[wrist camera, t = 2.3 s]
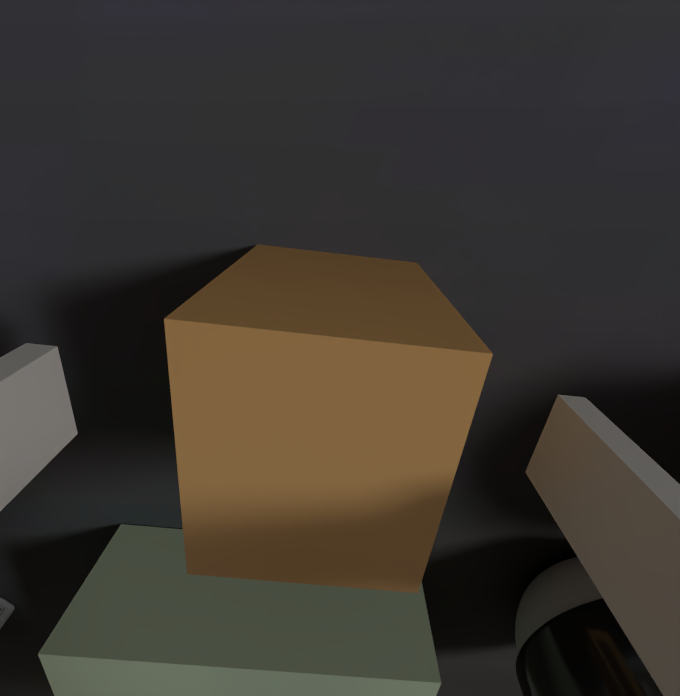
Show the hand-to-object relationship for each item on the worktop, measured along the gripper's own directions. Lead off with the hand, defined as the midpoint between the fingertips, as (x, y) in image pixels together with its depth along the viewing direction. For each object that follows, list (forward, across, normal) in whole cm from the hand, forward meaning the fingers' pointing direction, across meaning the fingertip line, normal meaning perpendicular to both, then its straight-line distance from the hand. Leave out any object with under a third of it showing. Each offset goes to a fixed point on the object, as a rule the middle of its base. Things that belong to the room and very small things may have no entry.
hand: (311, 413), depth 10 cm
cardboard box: (+6, 0, 0) cm, 6 cm away
